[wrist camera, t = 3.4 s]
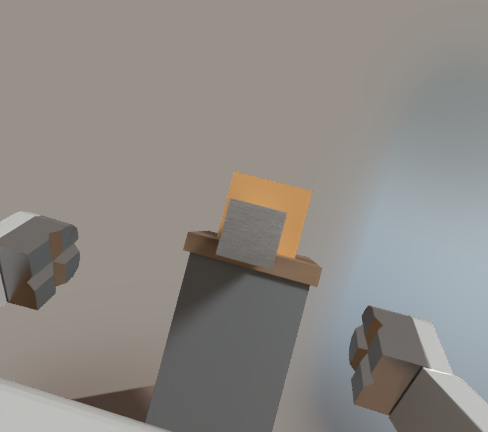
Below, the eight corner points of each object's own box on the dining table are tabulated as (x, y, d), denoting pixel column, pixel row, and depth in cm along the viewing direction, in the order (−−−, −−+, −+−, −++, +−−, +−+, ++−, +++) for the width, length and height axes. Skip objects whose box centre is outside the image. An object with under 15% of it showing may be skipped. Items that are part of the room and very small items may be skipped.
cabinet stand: (223, 647, 26) (322, 268, 26) (91, 596, 27) (188, 231, 27) (236, 538, 35) (309, 257, 35) (136, 503, 36) (208, 230, 36)
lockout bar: (311, 280, 17) (341, 165, 17) (178, 244, 17) (208, 133, 17) (290, 253, 35) (305, 197, 35) (226, 235, 35) (240, 181, 35)
